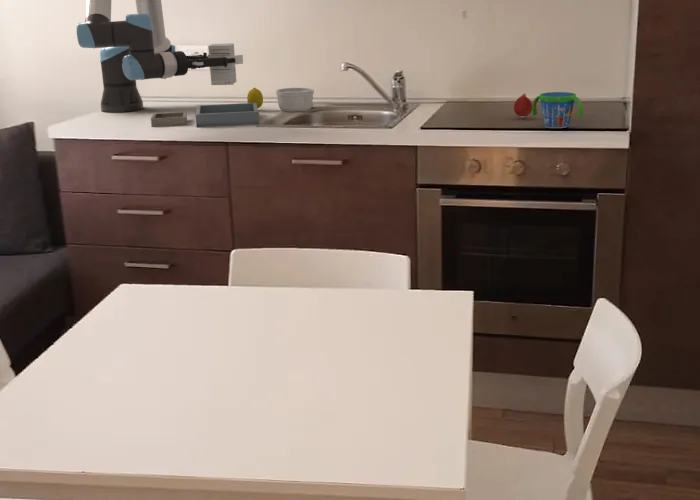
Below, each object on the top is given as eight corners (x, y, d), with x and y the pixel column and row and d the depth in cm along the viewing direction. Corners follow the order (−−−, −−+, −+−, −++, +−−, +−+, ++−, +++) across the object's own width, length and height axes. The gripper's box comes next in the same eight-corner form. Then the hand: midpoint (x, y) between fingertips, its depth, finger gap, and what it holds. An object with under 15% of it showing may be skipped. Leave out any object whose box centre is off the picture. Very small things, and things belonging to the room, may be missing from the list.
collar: (154, 120, 296) (153, 113, 295) (187, 119, 297) (186, 111, 296) (151, 126, 285) (150, 118, 284) (186, 124, 287) (185, 117, 286)
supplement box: (214, 82, 292) (212, 43, 288) (237, 82, 292) (234, 43, 288) (210, 85, 285) (207, 45, 281) (233, 84, 285) (230, 44, 281)
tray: (198, 117, 301) (197, 105, 299) (256, 114, 303) (256, 102, 302) (196, 127, 282) (195, 114, 281) (259, 123, 284) (258, 111, 283)
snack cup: (524, 128, 265) (525, 94, 262) (544, 123, 272) (545, 90, 269) (568, 133, 254) (570, 98, 251) (588, 128, 261) (590, 94, 258)
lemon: (256, 112, 308) (254, 89, 305) (244, 110, 311) (243, 88, 309) (266, 109, 312) (265, 87, 310) (255, 108, 315) (254, 86, 313)
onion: (512, 120, 278) (513, 94, 276) (514, 117, 284) (514, 92, 281) (531, 120, 277) (532, 94, 275) (532, 117, 282) (533, 92, 280)
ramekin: (320, 107, 314) (320, 87, 312) (303, 113, 303) (302, 93, 301) (288, 106, 320) (287, 86, 318) (270, 111, 309) (269, 91, 306)
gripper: (157, 73, 285) (217, 67, 298) (190, 79, 268) (252, 72, 281) (155, 49, 283) (216, 44, 296) (188, 53, 266) (251, 48, 279)
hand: (233, 58), depth 289 cm, fingers closed on supplement box, 10 cm apart
